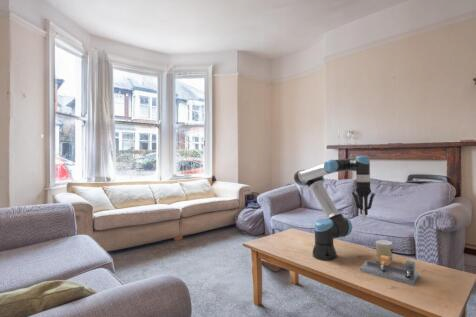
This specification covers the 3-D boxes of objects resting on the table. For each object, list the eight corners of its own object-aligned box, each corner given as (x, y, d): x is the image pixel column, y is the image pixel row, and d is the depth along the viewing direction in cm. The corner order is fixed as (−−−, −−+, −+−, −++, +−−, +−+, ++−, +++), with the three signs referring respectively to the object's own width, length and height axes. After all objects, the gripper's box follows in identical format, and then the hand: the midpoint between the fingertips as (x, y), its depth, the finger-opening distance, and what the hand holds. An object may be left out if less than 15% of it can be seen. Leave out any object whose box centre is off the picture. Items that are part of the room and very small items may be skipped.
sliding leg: (378, 269, 148) (377, 259, 147) (381, 264, 153) (381, 255, 153) (386, 271, 145) (385, 261, 145) (389, 266, 151) (389, 256, 150)
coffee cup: (395, 265, 157) (395, 245, 157) (378, 264, 159) (378, 244, 159) (390, 258, 166) (389, 239, 166) (373, 258, 168) (373, 239, 168)
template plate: (360, 271, 151) (359, 257, 151) (367, 263, 161) (366, 250, 161) (414, 285, 134) (413, 269, 134) (418, 275, 143) (418, 261, 143)
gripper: (349, 181, 161) (350, 219, 162) (373, 182, 153) (373, 223, 153) (354, 180, 167) (355, 217, 168) (376, 181, 158) (377, 220, 159)
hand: (364, 220), depth 160 cm, fingers closed
